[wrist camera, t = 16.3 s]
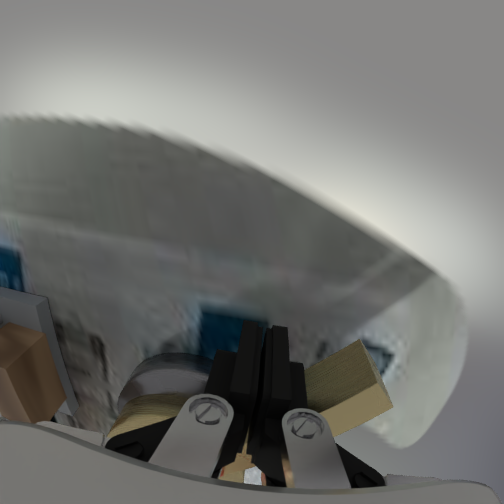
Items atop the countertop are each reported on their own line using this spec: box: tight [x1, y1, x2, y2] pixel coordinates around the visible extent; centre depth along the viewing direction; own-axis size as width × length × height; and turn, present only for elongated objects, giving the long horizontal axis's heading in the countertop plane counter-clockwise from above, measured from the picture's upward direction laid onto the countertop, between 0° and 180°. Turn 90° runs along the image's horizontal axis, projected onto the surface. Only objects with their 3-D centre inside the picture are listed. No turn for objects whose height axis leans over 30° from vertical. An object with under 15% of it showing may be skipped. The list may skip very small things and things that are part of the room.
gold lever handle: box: [107, 339, 393, 483], centre depth 12 cm, size 14×7×3 cm, turn 126°
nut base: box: [118, 353, 214, 414], centre depth 15 cm, size 12×8×2 cm, turn 87°
